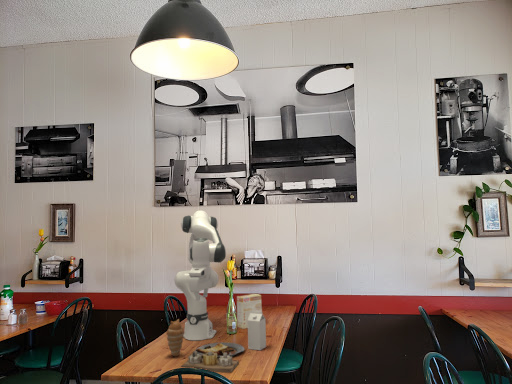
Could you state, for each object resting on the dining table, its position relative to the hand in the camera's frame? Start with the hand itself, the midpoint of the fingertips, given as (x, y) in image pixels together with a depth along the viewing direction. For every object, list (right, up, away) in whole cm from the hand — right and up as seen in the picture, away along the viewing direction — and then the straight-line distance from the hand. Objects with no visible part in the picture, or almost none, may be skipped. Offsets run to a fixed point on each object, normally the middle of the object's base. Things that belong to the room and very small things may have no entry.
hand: (201, 298), depth 211 cm
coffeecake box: (+23, -33, +61) cm, 73 cm away
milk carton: (+28, -30, +13) cm, 43 cm away
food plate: (+8, -30, +7) cm, 32 cm away
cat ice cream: (-14, -30, +3) cm, 33 cm away
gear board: (+6, -28, -14) cm, 32 cm away
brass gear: (+6, -27, -14) cm, 30 cm away
